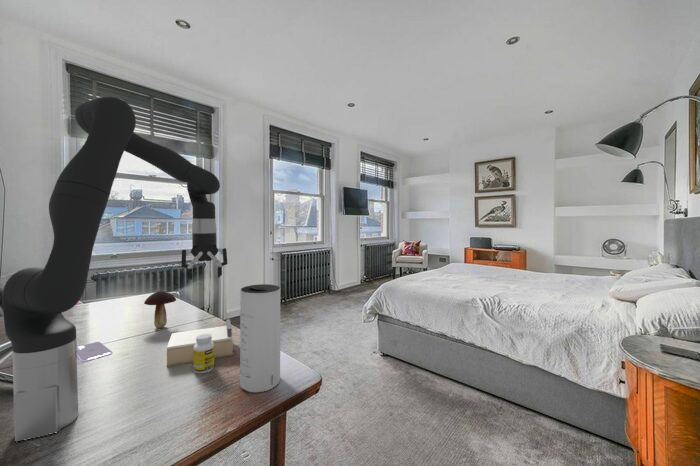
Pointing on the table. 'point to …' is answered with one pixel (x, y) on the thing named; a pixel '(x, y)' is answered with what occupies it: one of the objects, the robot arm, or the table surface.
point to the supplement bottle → (203, 354)
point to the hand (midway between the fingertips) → (205, 278)
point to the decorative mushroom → (160, 306)
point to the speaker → (259, 337)
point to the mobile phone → (92, 351)
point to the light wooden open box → (186, 353)
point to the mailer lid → (190, 336)
